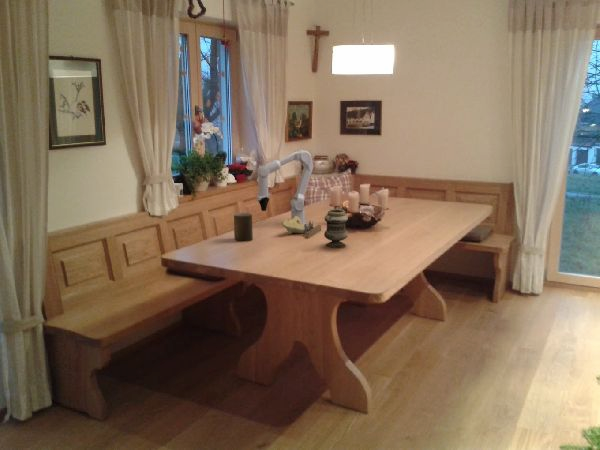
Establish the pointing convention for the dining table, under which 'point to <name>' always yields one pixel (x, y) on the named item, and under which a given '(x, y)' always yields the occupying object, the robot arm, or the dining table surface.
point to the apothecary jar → (336, 227)
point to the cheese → (293, 225)
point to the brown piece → (311, 229)
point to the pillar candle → (243, 227)
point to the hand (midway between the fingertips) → (263, 210)
